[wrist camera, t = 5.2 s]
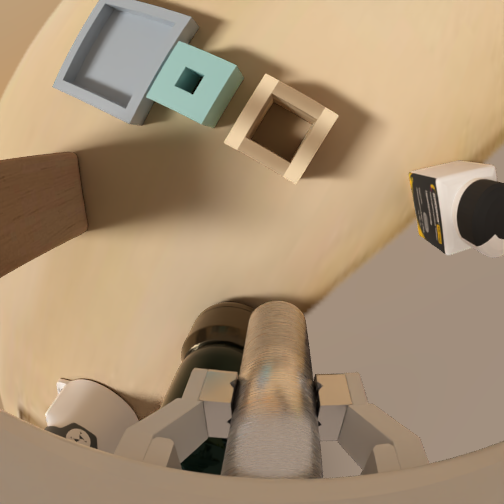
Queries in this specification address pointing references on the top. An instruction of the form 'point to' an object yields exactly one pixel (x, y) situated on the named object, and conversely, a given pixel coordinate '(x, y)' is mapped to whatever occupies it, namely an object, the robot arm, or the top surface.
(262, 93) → the wide bore block
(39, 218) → the block
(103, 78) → the tray
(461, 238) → the medicine bottle
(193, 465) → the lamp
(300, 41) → the top surface
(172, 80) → the narrow bore block
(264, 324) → the cylinder
